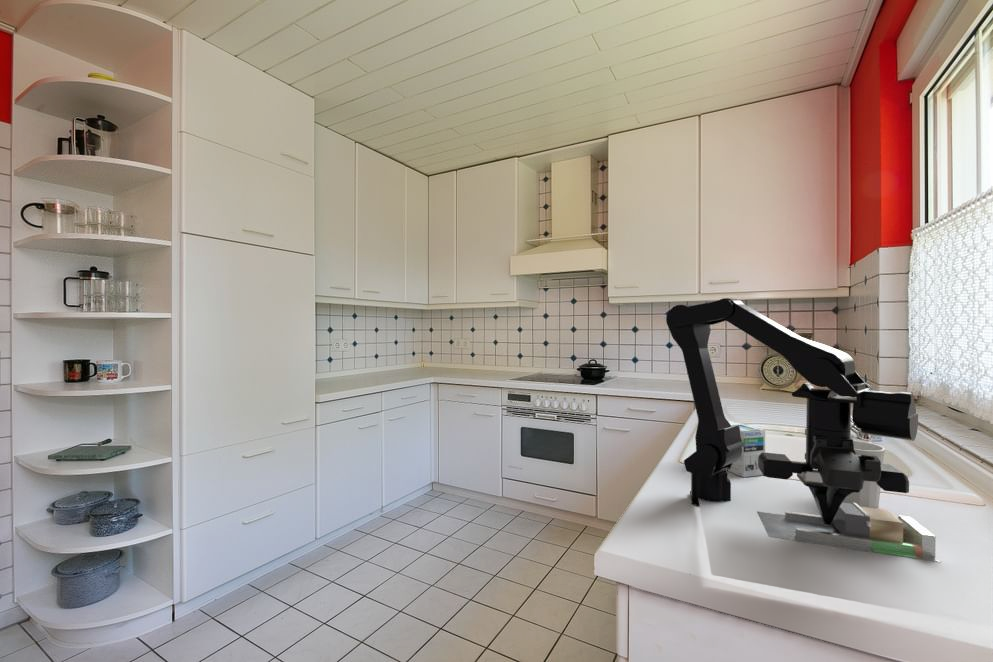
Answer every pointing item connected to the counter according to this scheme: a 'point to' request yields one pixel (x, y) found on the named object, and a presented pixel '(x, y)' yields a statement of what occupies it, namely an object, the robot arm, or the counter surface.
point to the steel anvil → (918, 535)
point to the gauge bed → (833, 535)
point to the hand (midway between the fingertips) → (826, 523)
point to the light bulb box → (749, 451)
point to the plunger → (852, 520)
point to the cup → (870, 489)
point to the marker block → (884, 525)
